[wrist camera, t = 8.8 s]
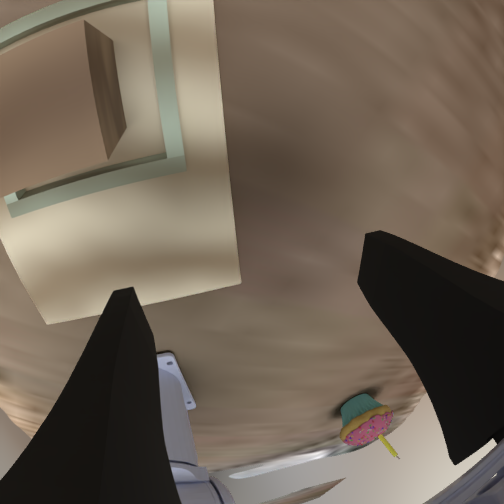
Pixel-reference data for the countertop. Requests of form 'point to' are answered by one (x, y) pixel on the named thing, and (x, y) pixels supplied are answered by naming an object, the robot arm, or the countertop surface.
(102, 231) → the board
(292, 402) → the countertop surface
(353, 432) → the cupcake
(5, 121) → the walnut block
